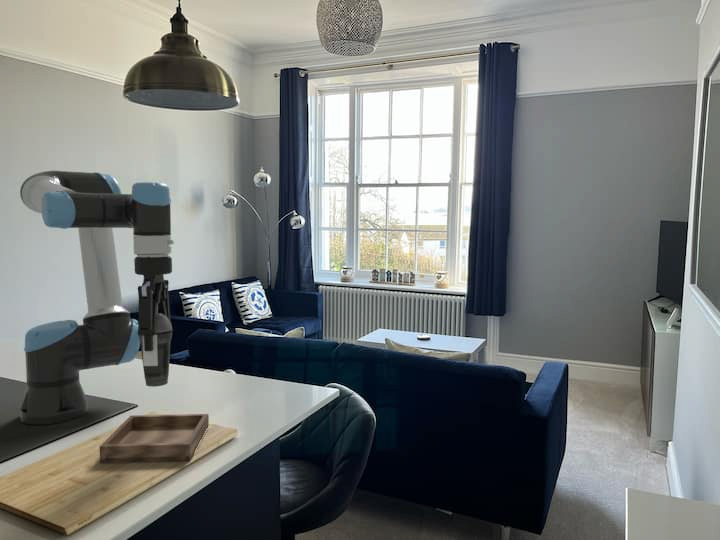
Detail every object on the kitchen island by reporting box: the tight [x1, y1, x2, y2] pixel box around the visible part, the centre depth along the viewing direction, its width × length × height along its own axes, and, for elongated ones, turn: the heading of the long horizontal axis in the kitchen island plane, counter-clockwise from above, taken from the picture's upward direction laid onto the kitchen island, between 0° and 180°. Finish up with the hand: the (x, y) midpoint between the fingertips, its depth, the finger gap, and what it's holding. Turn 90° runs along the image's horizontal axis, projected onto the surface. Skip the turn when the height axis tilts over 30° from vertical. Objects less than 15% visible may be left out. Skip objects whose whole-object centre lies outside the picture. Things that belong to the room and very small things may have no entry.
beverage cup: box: [137, 305, 174, 387], centre depth 118 cm, size 7×7×20 cm
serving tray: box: [98, 413, 210, 464], centre depth 120 cm, size 18×18×4 cm
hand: (156, 360), depth 118 cm, fingers closed on beverage cup, 7 cm apart
